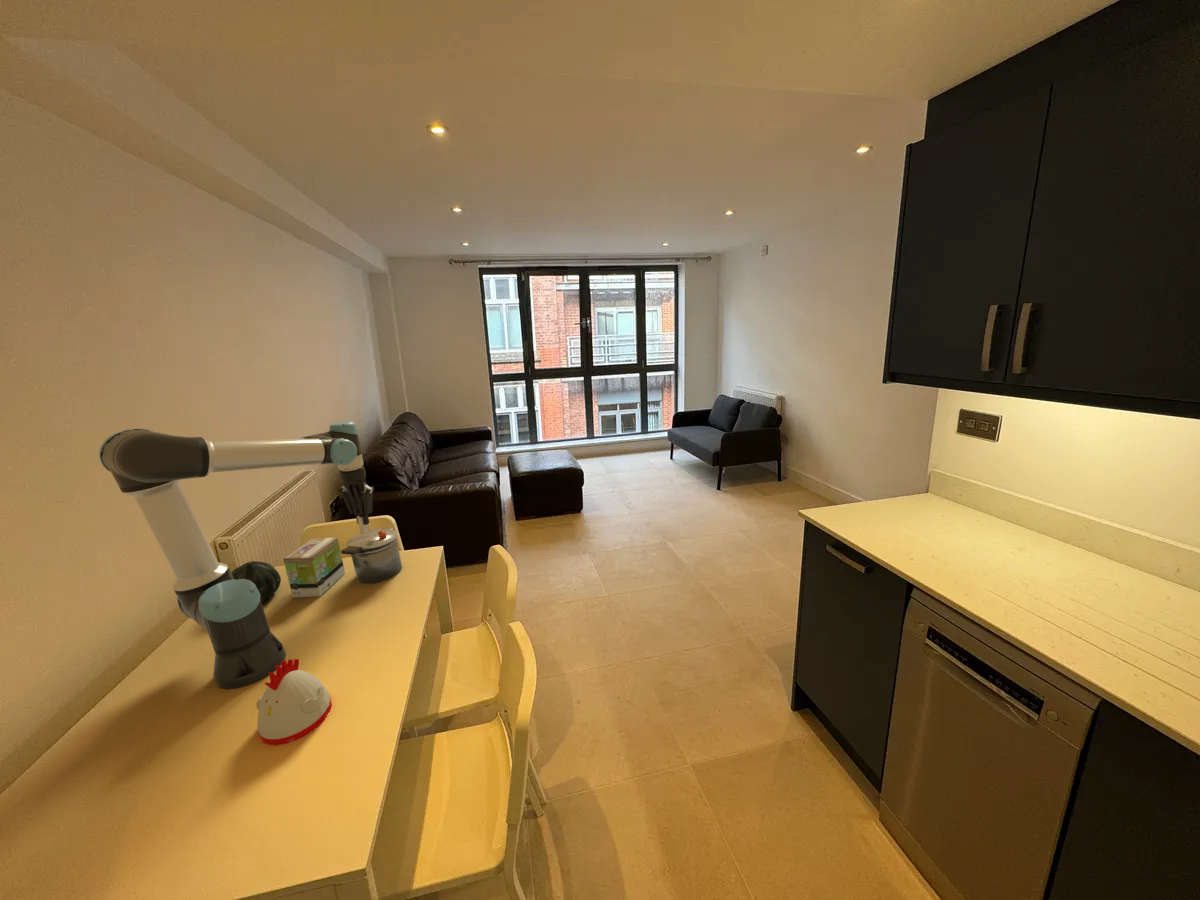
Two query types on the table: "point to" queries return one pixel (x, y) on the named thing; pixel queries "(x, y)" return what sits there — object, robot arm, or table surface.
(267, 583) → the squash
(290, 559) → the tea box
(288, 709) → the kitchen timer
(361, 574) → the pot
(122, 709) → the table surface
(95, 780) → the table surface
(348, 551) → the lid
